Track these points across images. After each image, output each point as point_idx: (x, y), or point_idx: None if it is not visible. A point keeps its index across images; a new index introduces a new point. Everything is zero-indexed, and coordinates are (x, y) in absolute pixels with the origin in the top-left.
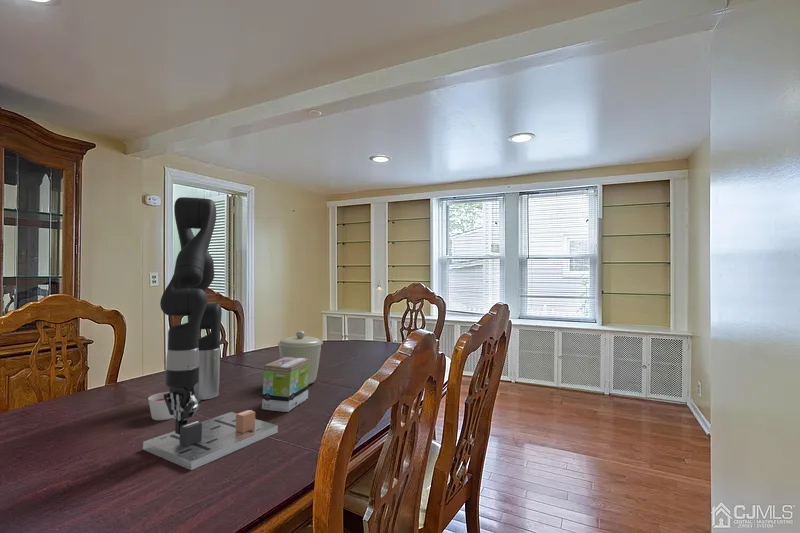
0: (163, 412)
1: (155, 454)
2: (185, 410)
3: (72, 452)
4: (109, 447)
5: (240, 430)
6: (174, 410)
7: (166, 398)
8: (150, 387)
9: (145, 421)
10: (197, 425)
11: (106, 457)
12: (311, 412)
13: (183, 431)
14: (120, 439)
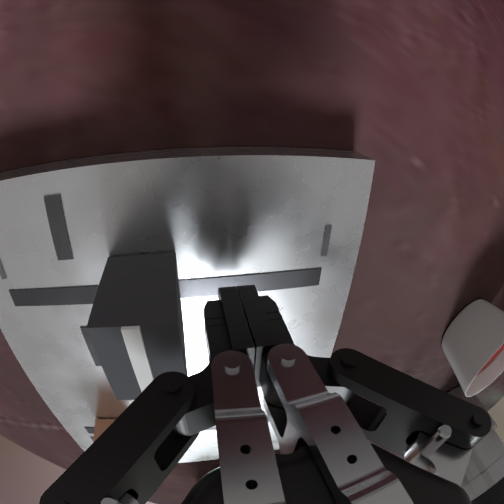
0: (470, 329)
1: (246, 147)
2: (141, 447)
3: (501, 46)
4: (463, 108)
5: (108, 424)
6: (315, 396)
7: (456, 421)
8: None
9: (488, 281)
10: (108, 377)
11: (406, 37)
12: (160, 493)
13: (133, 304)
14: (478, 170)
